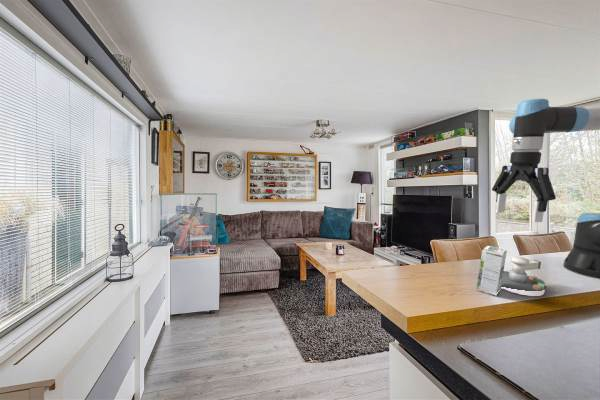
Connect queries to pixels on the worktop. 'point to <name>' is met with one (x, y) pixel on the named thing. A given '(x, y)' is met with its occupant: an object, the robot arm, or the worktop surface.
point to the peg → (524, 264)
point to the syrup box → (491, 269)
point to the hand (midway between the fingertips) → (517, 216)
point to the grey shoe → (522, 281)
